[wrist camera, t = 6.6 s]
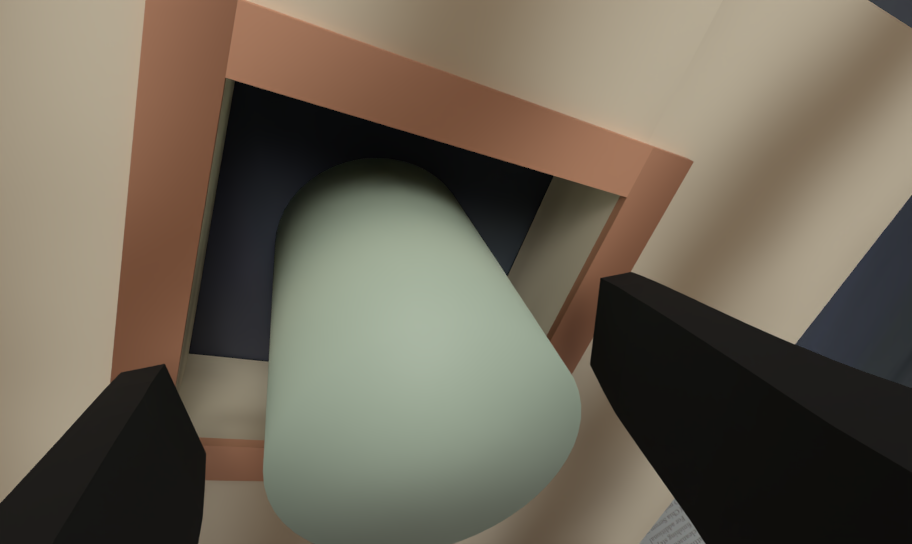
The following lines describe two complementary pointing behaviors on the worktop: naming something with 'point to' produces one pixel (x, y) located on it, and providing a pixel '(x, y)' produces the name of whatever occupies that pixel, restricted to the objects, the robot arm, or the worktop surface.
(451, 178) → the worktop surface
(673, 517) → the skincare box
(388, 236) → the green peg
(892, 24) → the hole plate
